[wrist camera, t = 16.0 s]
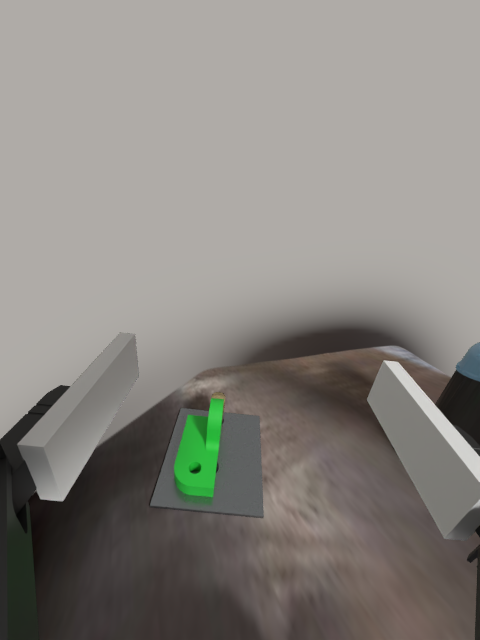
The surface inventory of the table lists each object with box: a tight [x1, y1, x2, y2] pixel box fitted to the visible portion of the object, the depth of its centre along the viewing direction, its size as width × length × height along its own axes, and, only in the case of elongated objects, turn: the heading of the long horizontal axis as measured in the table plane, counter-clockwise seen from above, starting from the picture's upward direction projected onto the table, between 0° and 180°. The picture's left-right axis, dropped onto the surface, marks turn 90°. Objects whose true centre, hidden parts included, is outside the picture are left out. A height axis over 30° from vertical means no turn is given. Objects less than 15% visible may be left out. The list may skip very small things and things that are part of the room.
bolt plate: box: [150, 392, 264, 518], centre depth 40 cm, size 15×17×6 cm
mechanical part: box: [174, 398, 224, 497], centre depth 39 cm, size 12×6×8 cm, turn 178°
